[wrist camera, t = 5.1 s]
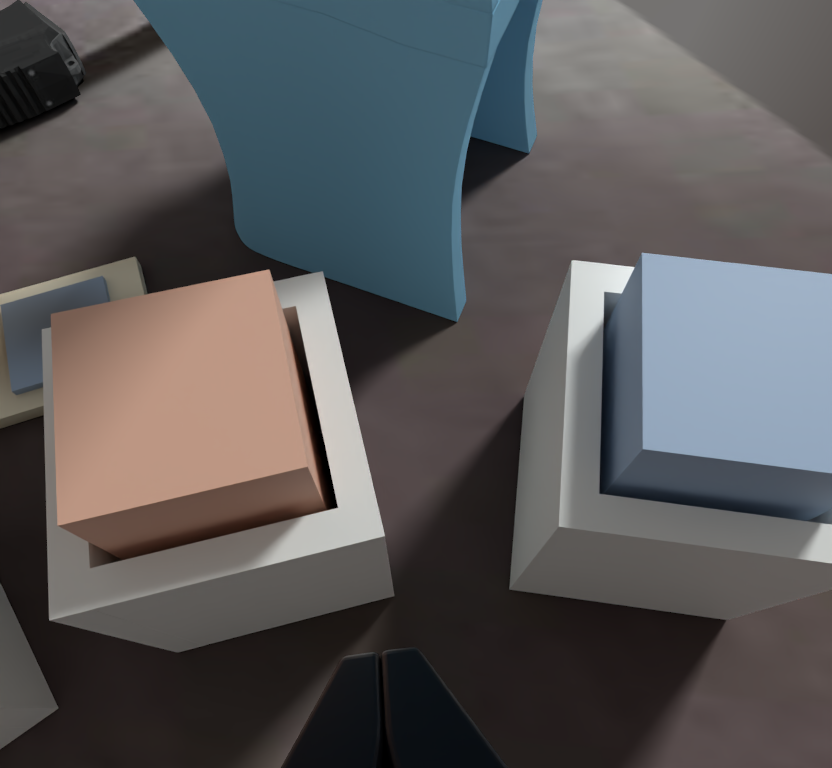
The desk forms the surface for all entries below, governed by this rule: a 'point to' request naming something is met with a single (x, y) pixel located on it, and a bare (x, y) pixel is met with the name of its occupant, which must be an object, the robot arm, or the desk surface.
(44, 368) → the keypad
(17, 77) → the handgun
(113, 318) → the terracotta key
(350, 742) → the robot arm
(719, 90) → the desk surface
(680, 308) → the blue key
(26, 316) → the board
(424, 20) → the vase
